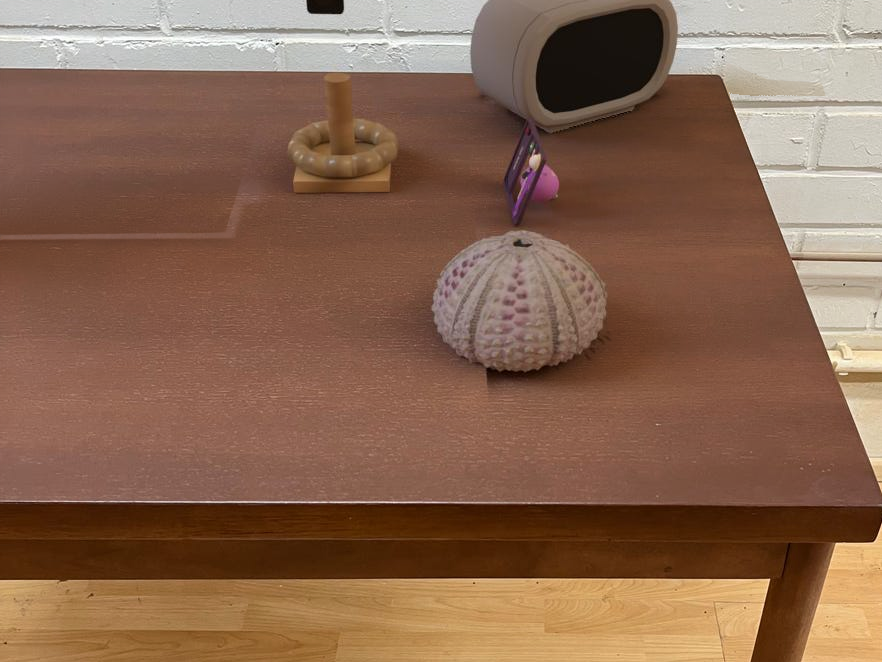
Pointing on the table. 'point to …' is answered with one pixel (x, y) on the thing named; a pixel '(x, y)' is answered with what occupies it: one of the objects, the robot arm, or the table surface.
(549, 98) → the alarm clock
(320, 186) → the stand
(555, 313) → the sea urchin shell
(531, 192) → the purple toy package
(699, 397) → the table surface
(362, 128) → the ring
